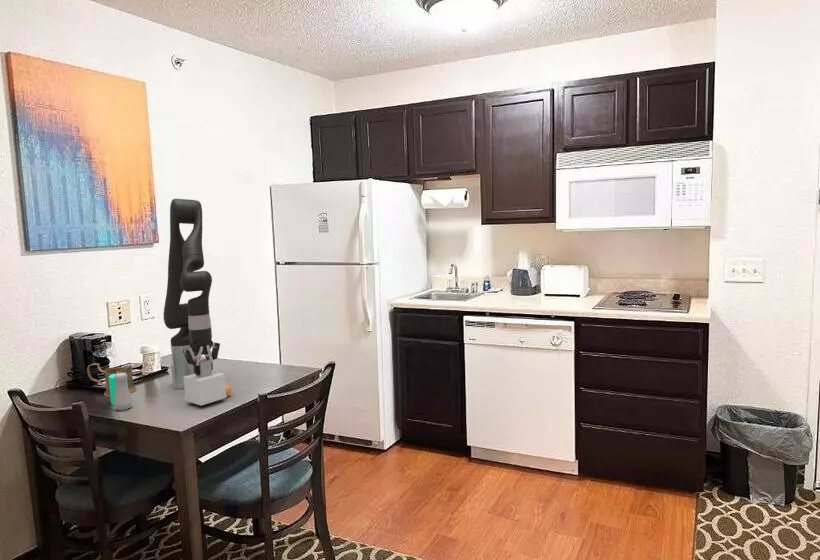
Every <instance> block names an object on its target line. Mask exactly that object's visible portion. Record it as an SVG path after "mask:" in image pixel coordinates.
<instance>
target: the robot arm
mask: <svg viewBox="0 0 820 560" xmlns="http://www.w3.org/2000/svg"><path fill="white" fill-rule="evenodd" d="M180 224H183V225H184V224H187V225H193V227H192V230H191V232H190V233H189V235H188V236H187V238H186V239H184V236H183V234H182V232H181V228H180ZM168 250H169V251H168V261H167V282H166V283H167V285H166V295H165V301H164V305H163V306H164V307H163V322H164V324H165V326H166V328H167V329H169V330H173V329H175V330H176V329H179V331H178V332H177V333H176V334H175V335H173V336H172V337H171V338H170V349H171V360H172V361H171V362H172V364H171V365H170V367H171V377H172V378H171V379H172V388H173V389H178V390H181V389H182V390H183V389H184V378H183V377H185V376H189V375H193V374H196V375H198V376H199V375H200V365H199V363H200V360H202V356H204V357H205V359H208V360H211V366H212V371H213V370H214V366H213V365H214V364H213V362H214V360H218V356H219V352H220V351H219V350H220V346H221V344H220V343H219V342H217V341H216V342H213V341H214V340H212V338H213V333H212V323H211V322H212V320H211V317H210V315H211V314H210V305H209V304H210V303H209V299H210V293H211V292H210V291H211V288H212V283H213V277H212V275H211V273H210V272H209V271H208V270H201V269H202V268H204V266H205V259H204V251H203V207H202V203H201V201H199V200H197V199H196V200H195V199H187V198H186V199H185V198H173V199H172V200H171V201H170V206H169V249H168ZM183 292H186V293H191V292H201V293H200V294H199V295H198V296H196V297H191V298H189V299H188V300H187V302H186V303H185V302H184V303H181V298H182V295H183Z"/></svg>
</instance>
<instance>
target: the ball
mask: <svg viewBox="0 0 820 560" xmlns="http://www.w3.org/2000/svg"><path fill="white" fill-rule="evenodd" d="M225 385H226V398H227V397H228V396H229V395H230V394H231V393H232V388H231V386H230V385H229V384H227V383H225Z"/></svg>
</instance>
